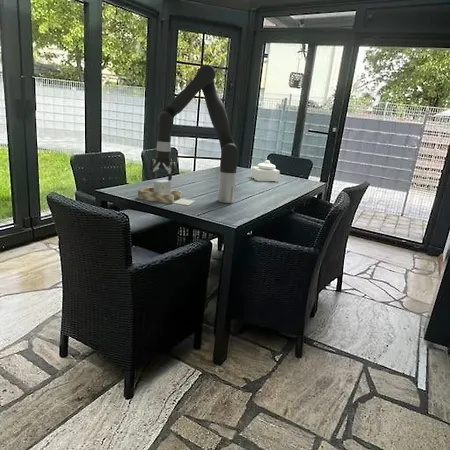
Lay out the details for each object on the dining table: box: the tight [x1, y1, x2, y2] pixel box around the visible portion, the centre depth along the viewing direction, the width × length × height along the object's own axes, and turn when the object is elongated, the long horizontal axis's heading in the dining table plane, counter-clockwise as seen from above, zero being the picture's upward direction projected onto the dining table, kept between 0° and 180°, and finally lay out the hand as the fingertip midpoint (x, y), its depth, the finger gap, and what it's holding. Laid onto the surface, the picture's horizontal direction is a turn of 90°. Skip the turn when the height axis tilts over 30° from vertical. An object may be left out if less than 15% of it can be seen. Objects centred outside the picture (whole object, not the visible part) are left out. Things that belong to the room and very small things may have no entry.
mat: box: [173, 198, 196, 207], centre depth 203 cm, size 9×11×1 cm
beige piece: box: [137, 186, 183, 204], centre depth 206 cm, size 20×13×4 cm, turn 75°
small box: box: [153, 178, 172, 195], centre depth 205 cm, size 8×6×10 cm
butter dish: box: [250, 159, 281, 183], centre depth 292 cm, size 18×18×16 cm
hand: (162, 179), depth 203 cm, fingers open, 8 cm apart
